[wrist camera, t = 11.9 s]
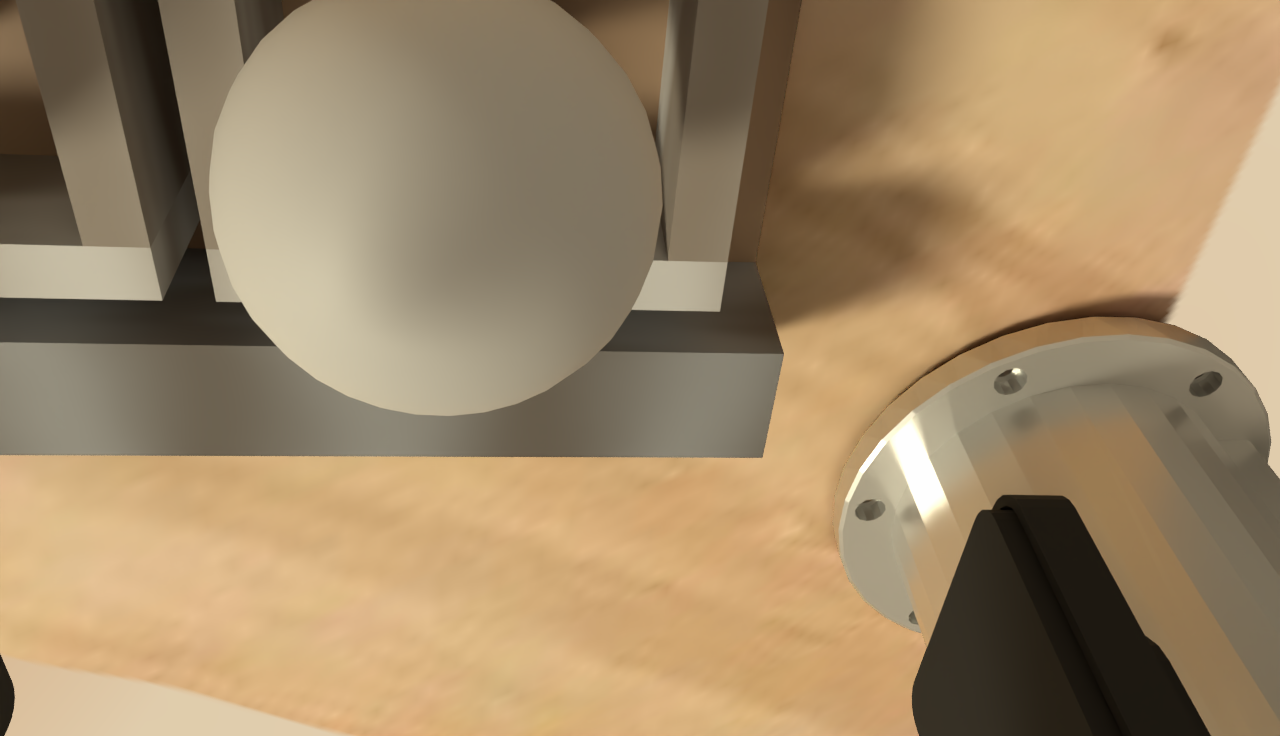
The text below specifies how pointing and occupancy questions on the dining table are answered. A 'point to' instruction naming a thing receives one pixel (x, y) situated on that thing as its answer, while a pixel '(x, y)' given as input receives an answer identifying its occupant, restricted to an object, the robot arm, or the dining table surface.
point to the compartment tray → (239, 349)
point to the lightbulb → (435, 198)
